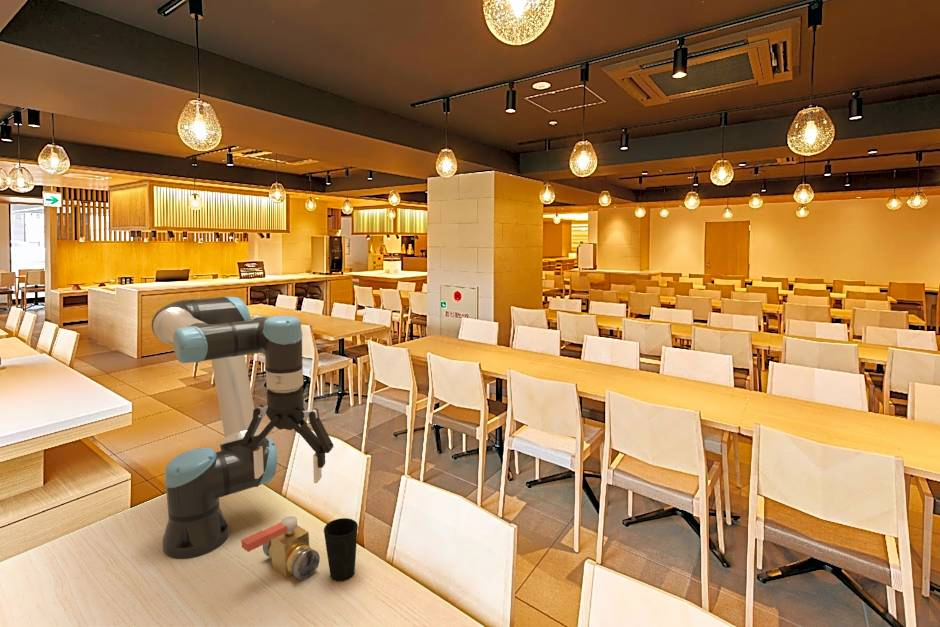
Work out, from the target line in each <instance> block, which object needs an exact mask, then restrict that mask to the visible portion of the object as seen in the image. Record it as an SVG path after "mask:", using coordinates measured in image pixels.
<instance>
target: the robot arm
mask: <svg viewBox="0 0 940 627" xmlns="http://www.w3.org/2000/svg"><path fill="white" fill-rule="evenodd" d="M301 322H302V321H301V320H300V319H299V318H298V316H293V315H292V316H291V315H274V316H269V317H268V316H261V315H260V316H259V315H258V316H255V317H252V318H251V314H250V311H249V308H248V306H247V305H246V303H245V301H243V299H242V298H239V297H238V296H221V297H207V298H193V299H181V300H177V301H174V302H170V303H168V304H165V305H164V306H162V307H161V308H159V309H158V310H157V311H156V312H155V314H154V315H153V317H152V320H151V323H150V324H151V330H152V333H153V334H154V336H155V337H156V338H157V339H158V340H160V341H161V342H163V343H165V344H169V345H173V350H174V354H175V357H176V360H177V361H178V362H179V363H181V364H188V363H197V364H198V363H201V362H205V361H211V366H212V367H211V368H212V372H213V378H214V383H215V389H216V395H217V400H218V405H219V406H218V407H219V412H220V416H221V422H222V427H223V433H224V434H223V435H224V437H223V439H222V440H221V442H220V443H219V447H220V450H219V451H215V449H213V448H212V447H207V446H206V447H202V448H201V447H197V448H193V449H190V450H187V451H184V452H181V453H180V454H178V455H176V456H175V457H173V458H172V459H171V460H170V461H168V463H167V464H166V466H165V469H164V486H165V491H166V501H167V512H168V513H167V514H168V520H167V523H166V527H165V530H164V534H163V537H162V550H163V552H164V554H165V555H167V556H168V557H170V558H176V559H187V558H193V557H198V556H202V555H205V554H207V553H210V552H211V551H213V550H216V549H217V548H219V547H220V546H221V545H222V544H224V543H225V541H226V540H227V539H228V537H229V534H230V533H229V532H230V531H229V529H230V528H229V523H228V522H227V519H226V518H225V517H226V516H224V513H223V511H222V510H221V507H220V506H221V505H220V498H222V497H226V496H229V495H232V494H236V493H239V492H243V491H245V490H248V489H253V488H258V487H259V486H262V485H265V484H267V483H269V482H271V481H272V480H273V479H274V478H275V476H276V473H277V468H278V452H277V447H276V443H275V442H274V440H273V439H272V438H267V436H268V435H269V434H270V433H271V432H272V431H273V430H274V428H277V430H287V431H292V430H293V431H295V432H296V433H297V434H299V435H300V436H301V437H302V438H303V440H304V441H305V442H306V443H307V444H308V445H309V446H310V448H311V449H312V450H313V451H314V452H315V453H314V454H313V455H312V461H313V462H312V463H313V466H312V467H313V484H318V482H319V481H321V479H322V476H323V475H322V472H323V471H322V469H323V467H324V466H325V464H326V454H329V453H330V452H331V451H332V449H334V443H333V441H332V439H331V438H330V436H329V434H328V432H327V430H326V428H325V426H324V424H323V422H322V421H321V418H320V412H319V409H318V408H313V409H312V410H311V409H310V410H309V409H308V410H306V409H305V407H304V402H305V400H304V399H305V398H304V396H305V394H304V387H303V386H304V371H303V370H304V368H303V330H302V323H301ZM254 354H255V355H256V354H264V359H265V376H266V377H265V380H266V384H265V385H266V388H267V390H266V405H267V407H264V405H262V404H259V405H258V406H257V407H255V405H254V398H253V393H252V389H251V388H252V387H251V382H250V377H249V372H248V366H247V362H246V355H247V356H248V355H254ZM265 416H267V418H268V419H269V423H267V424H266V426H265V427H264V429H263V430H261V429H260V428H259V426H260V424H261V421H262V419H263V417H265ZM305 417H306V420H307V422H309V423H310V426H311V428H310V427H309V426H308V423H307V422H306V420H305V419H304V418H305Z"/></svg>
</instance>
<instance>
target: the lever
mask: <svg viewBox="0 0 940 627" xmlns="http://www.w3.org/2000/svg"><path fill="white" fill-rule="evenodd" d="M297 525H298V518H297V517H296V516H293V515H292V516H286V517H283V518H282V519H281V521H280V522H279V523H276V524H273V525H272V526H270V527H268V528H265V529H261V530H259V531H257V532H255V533H253V534H251V535H248V536H246V537H244V538H242V539H241V540H240V541H241V543H240V544H241V548H242V549H243V550H244V551H246V552H247V553H249V552H251V551H253V550H255V549H257V548H260V547H261V546H263V545H264V544H266V543H268V542H269V541H270V540H272V539H274V538H276V537H278V536H280V535H282V534H284V533H286V532H290V531H293V530H295V529H296V528H297Z"/></svg>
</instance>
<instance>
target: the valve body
mask: <svg viewBox="0 0 940 627" xmlns="http://www.w3.org/2000/svg"><path fill="white" fill-rule="evenodd" d="M309 535H310V534H309V531H308V530H306V529H304V528H303V527H301V526H299V525H298V524H297V528H296V529H295V530H293V531H290V532H286V533H284V534H282V535H280V536H278V537H276V538H274V539H272V540H270V541H269V542H268V543H266V544H264V545H262V552H263V553H264V554H265V555H266V556H267V557H269V558H270V559H271V564H272V568H273V569H275V570H276V571H277V572H278V573H280V574H281V575H282V576H283V577H285V578H288V577H290V576H291V575H293V576H294V577H295V579H296V578H297V579H298V580H301V581H303V580H306V579H309V578H310V577H312V575H314V573H315V572H316V570H317V568H318V567H319V564H320V559H321V558H320V554H319V551H317V550H315V549H314V548H312V547H310V536H309Z"/></svg>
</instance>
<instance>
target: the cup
mask: <svg viewBox="0 0 940 627" xmlns="http://www.w3.org/2000/svg"><path fill="white" fill-rule="evenodd" d="M358 529H359V526H358V522H356V521H355V520H354V519H352V518H347V517H344V518H343V517H342V518H336V519H333V520H331V521H329V522H328V523H326V525H325V526H324V528H323V534H324V541H325V548H326V556H327V562H328V569H329V575H330V576H329V577H330V579H331V580H332V581H334V582H338V583H343V582H346V581H348V580H350V579H352V578H353V577H354V576H355V571H356V570H355V569H356V559H357V558H356V556H357V555H356V554H357V543H358Z"/></svg>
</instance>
